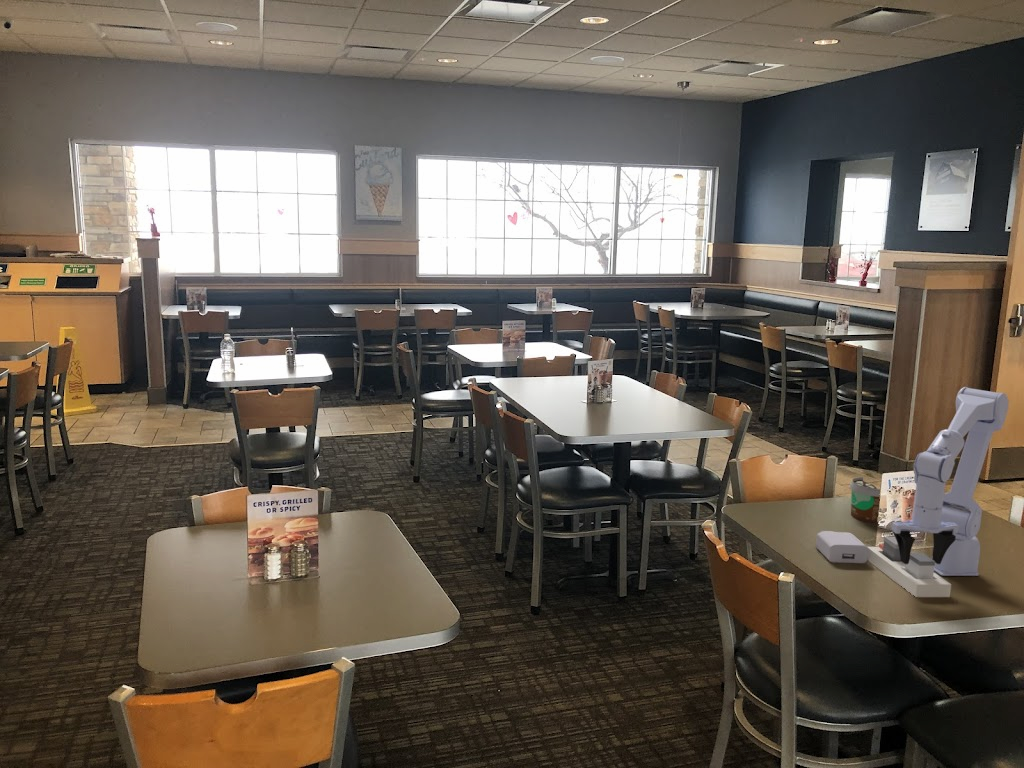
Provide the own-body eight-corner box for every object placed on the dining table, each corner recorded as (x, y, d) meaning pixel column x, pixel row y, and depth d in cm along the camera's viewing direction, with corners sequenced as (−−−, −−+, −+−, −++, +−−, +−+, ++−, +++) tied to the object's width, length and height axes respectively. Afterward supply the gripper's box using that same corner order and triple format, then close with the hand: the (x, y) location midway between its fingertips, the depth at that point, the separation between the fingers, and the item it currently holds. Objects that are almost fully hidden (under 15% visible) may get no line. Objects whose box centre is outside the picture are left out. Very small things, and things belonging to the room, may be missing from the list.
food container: (838, 509, 241) (841, 476, 239) (858, 509, 241) (862, 476, 240) (860, 524, 229) (864, 489, 227) (881, 524, 229) (885, 489, 227)
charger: (841, 541, 216) (866, 564, 201) (806, 540, 216) (828, 563, 201) (843, 523, 215) (868, 545, 200) (808, 522, 215) (830, 544, 200)
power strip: (896, 558, 205) (897, 543, 204) (949, 597, 184) (951, 581, 183) (865, 558, 204) (866, 543, 204) (915, 597, 183) (917, 581, 182)
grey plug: (918, 581, 192) (922, 552, 190) (931, 590, 187) (935, 561, 185) (903, 581, 191) (907, 552, 190) (916, 590, 186) (920, 561, 185)
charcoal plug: (895, 564, 201) (898, 536, 200) (906, 572, 197) (910, 544, 195) (881, 564, 201) (884, 536, 200) (892, 572, 196) (895, 544, 195)
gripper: (907, 511, 181) (899, 569, 184) (969, 511, 182) (961, 569, 185) (889, 500, 188) (882, 557, 190) (950, 500, 189) (942, 557, 192)
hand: (920, 562), depth 188 cm, fingers open, 7 cm apart
